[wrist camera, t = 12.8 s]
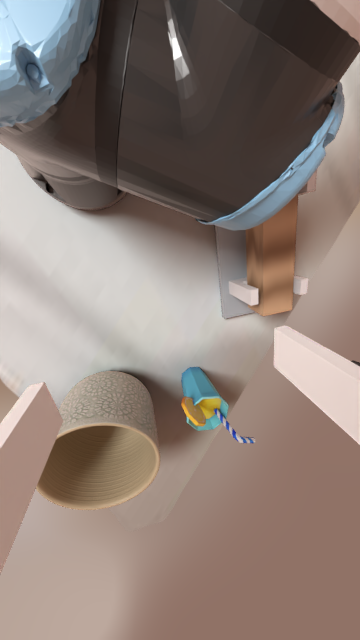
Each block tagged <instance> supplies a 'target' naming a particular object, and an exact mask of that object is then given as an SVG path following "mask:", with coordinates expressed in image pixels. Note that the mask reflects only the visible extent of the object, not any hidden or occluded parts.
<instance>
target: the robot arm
mask: <svg viewBox="0 0 360 640" xmlns="http://www.w3.org/2000/svg"><path fill="white" fill-rule="evenodd" d="M359 52H360V0H0V143H1V144H2V145H3V146H5V147H6V148H8V149H9V150H10V151H12V152H13V153H15V154H16V155H17V157H18V159H19V160H20V162H21V164H22V166H23V167H24V169H25V170H26V172H27V173H28V174H29V176H30V177H31V178H32V179H33V180H34V181H35V183H36V184H37V185H38V186H39V187H40V188H42V189H43V190H44V191H45V192H46V193H48V194H49V195H50V196H52V197H53V198H55V199H57V200H58V201H60V202H62V203H64V204H66V205H68V206H71V207H74V208H77V209H82V210H99V209H104V208H107V207H109V206H112V205H113V204H115V203H117V202H118V201H119V200H120V199H122V198H123V197H124V195H125V194H126V193H127V192H128V193H130V194H133V195H136V196H138V197H141V198H144V199H146V200H149V201H151V202H154V203H157V204H159V205H162V206H165V207H167V208H170V209H173V210H175V211H178V212H180V213H183V214H186V215H188V216H191V217H194V218H195V219H196V220H197V221H198V222H200V223H202V224H207V225H208V224H209V225H216V226H219V227H222V228H225V229H228V230H232V231H237V230H246V229H251V228H253V227H255V226H258V225H260V224H262V223H263V222H265V221H267V220H268V219H270V218H271V217H272V216H274V215H275V214H276V213H277V212H279V211H280V210H281V209H282V208H283V207H284V206H286V205H287V204H288V203H289V202H290V201H291V200H292V199H293V198H294V197H295V196H296V195H297V193H298V192H299V191H300V190H301V189H302V188H303V187H304V185H305V184H306V183H307V182H308V181H309V179H310V178H311V176H312V175H313V174H314V172H315V171H316V170H317V168H318V167H319V165H320V164H321V162H322V160H323V159H324V157H325V155H326V152H325V149H324V148H325V147H326V146H327V145H328V144H329V143H330V142H331V141H332V140H333V139H335V136H336V134H337V132H338V129H339V127H340V124H341V121H342V118H343V113H344V95H343V92H342V84H341V82H340V79H341V78H342V76H343V75H344V73H345V72H346V71H347V69H348V68H349V66H350V65H351V63H352V62H353V60H354V59H355V58H356V56H357V55H358V53H359ZM274 367H275V368H276V369H277V370H279V372H281V373H282V374H283V375H284V376H285V377H286V378H287V379H288V380H289V381H291V383H293V384H294V385H295V386H296V387H297V388H298V389H299V390H300V391H301V392H302V393H304V394H305V395H306V396H307V397H308V398H309V399H310V400H311V401H313V403H315V404H316V405H317V406H318V407H319V408H320V409H321V410H322V411H323V412H325V413H326V414H327V415H328V416H329V417H330V418H331V419H332V420H333V421H334V422H335V423H337V424H338V425H339V426H340V427H341V428H342V429H343V430H344V431H345V432H346V433H348V434H349V435H350V436H351V437H352V438H353V439H354V440H355V441H356V442H357V443H358V444H360V363H359V362H356V361H349V360H347V359H345V358H344V357H342V356H340V355H338V354H337V353H335V352H333V351H331V350H329V349H328V348H326V347H324V346H322V345H320V344H318V343H317V342H315V341H313V340H311V339H310V338H308V337H306V336H304V335H303V334H301V333H299V332H297V331H295V330H293V329H292V328H290V327H288V326H281V327H277V328H275V333H274ZM62 423H63V419H62V417H61V415H60V413H59V411H58V409H57V407H56V405H55V403H54V401H53V399H52V396H51V394H50V392H49V390H48V388H47V386H46V384H45V382H43V383H38V384H34V385H30V386H28V388H27V389H26V390H25V392H24V393H23V394H22V396H21V397H20V398H19V400H18V401H17V402H16V404H15V405H14V406H13V408H12V409H11V410H10V412H9V413H8V414H7V416H6V417H5V418H4V420H3V421H2V422H1V423H0V574H1V571H2V569H3V567H4V564H5V562H6V559H7V557H8V554H9V552H10V549H11V547H12V545H13V542H14V540H15V537H16V535H17V533H18V530H19V527H20V525H21V523H22V520H23V518H24V515H25V513H26V511H27V508H28V506H29V503H30V501H31V499H32V496H33V494H34V491H35V489H36V486H37V484H38V482H39V479H40V477H41V474H42V472H43V469H44V467H45V465H46V462H47V460H48V457H49V455H50V452H51V450H52V447H53V445H54V443H55V440H56V438H57V435H58V433H59V430H60V428H61V426H62Z"/></svg>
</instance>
